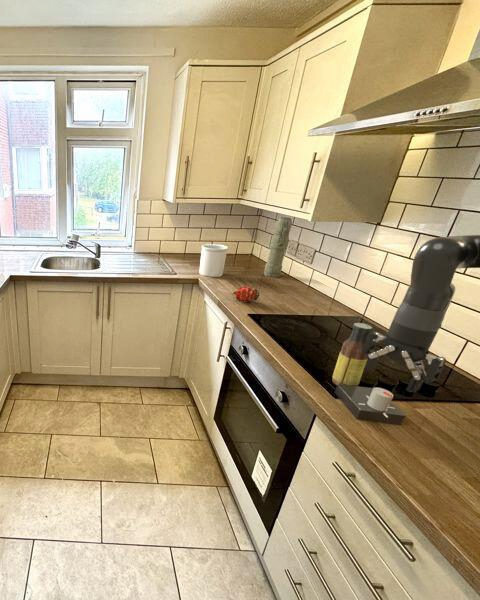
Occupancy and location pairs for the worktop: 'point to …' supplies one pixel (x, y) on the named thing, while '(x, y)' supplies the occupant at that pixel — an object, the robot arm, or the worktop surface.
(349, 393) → the rotary knob panel
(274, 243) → the grey green carved column
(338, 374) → the sauce bottle
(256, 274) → the worktop surface
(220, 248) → the utensil holder
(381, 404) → the dial
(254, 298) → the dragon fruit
